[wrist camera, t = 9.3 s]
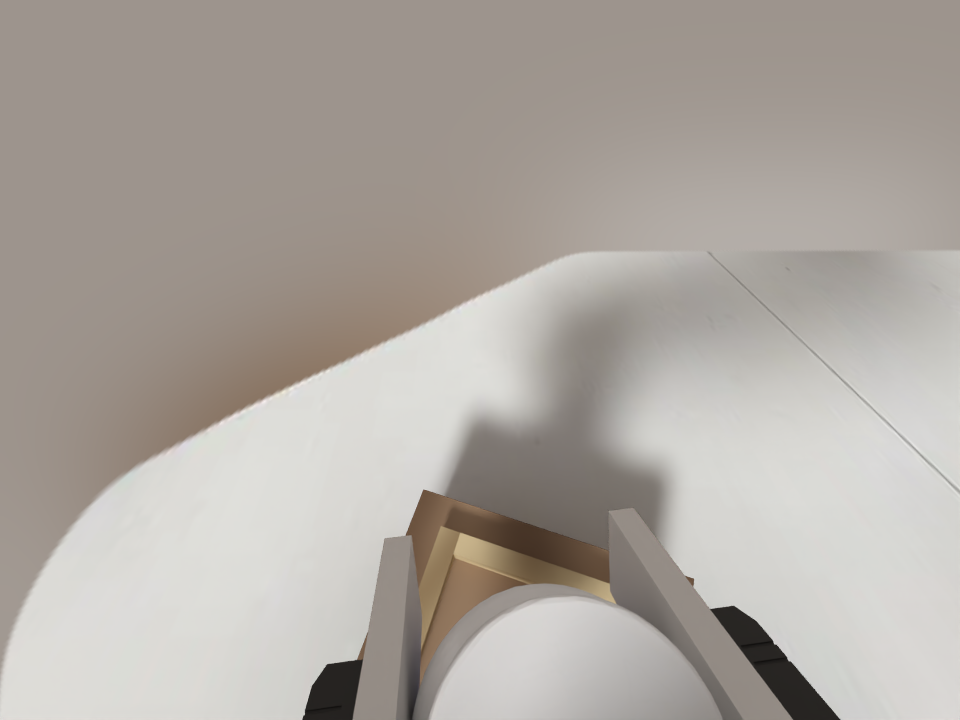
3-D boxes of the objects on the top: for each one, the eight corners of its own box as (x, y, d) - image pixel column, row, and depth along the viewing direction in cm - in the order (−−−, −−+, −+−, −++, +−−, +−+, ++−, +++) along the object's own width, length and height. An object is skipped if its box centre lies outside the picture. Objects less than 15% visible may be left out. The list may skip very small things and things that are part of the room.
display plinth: (650, 594, 29) (703, 575, 22) (609, 913, 22) (668, 1029, 15) (434, 520, 32) (421, 482, 25) (335, 789, 25) (278, 842, 18)
